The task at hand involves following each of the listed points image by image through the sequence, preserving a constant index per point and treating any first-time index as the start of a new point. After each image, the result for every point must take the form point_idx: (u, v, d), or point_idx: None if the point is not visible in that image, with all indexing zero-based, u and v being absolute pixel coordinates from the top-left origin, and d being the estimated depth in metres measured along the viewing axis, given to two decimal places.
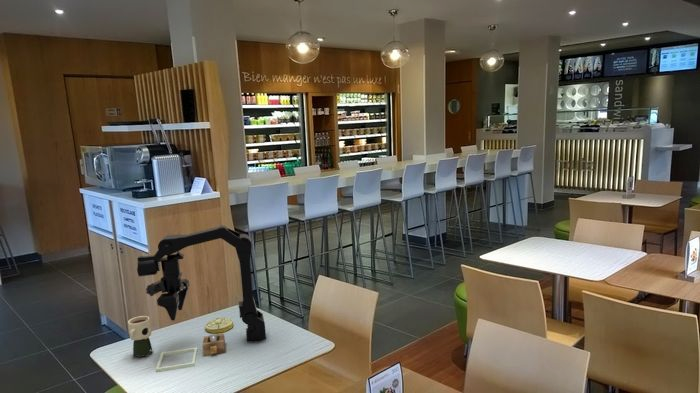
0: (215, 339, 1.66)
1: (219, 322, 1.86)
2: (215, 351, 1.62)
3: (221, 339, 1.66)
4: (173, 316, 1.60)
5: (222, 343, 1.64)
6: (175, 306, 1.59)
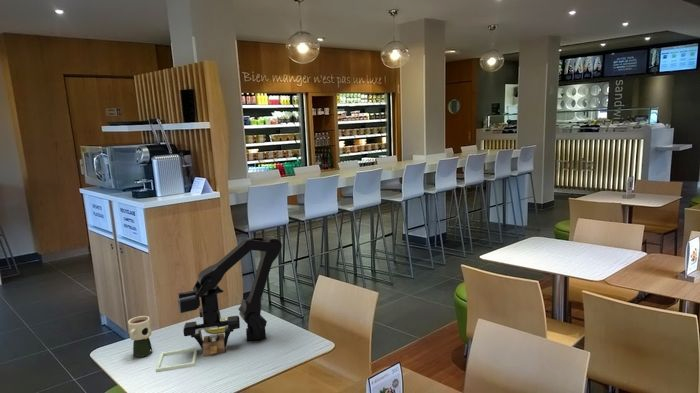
0: (215, 339, 1.66)
1: None
2: (215, 351, 1.62)
3: (221, 339, 1.66)
4: None
5: (222, 343, 1.64)
6: None
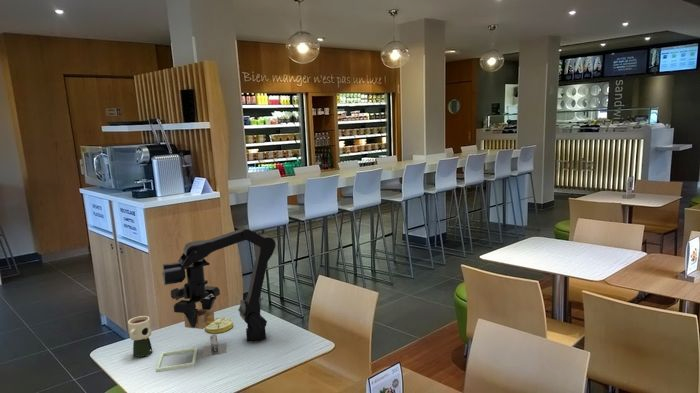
0: (215, 339, 1.66)
1: (219, 322, 1.86)
2: (213, 320, 1.62)
3: (207, 310, 1.65)
4: (192, 323, 1.59)
5: (212, 311, 1.65)
6: (193, 314, 1.57)
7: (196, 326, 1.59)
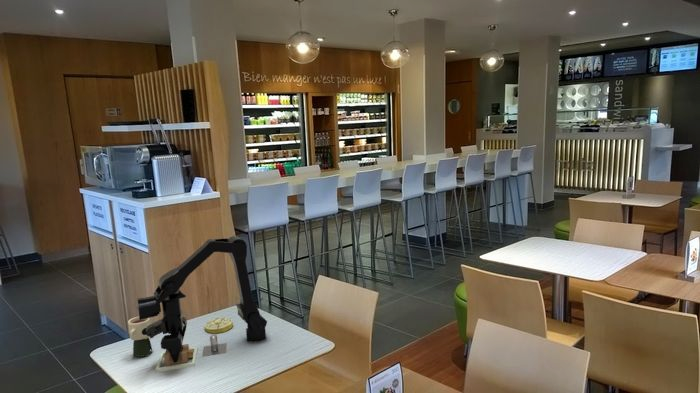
0: (215, 339, 1.66)
1: (219, 322, 1.86)
2: (192, 353, 1.62)
3: None
4: (176, 358, 1.55)
5: (188, 345, 1.64)
6: (179, 348, 1.54)
7: (179, 363, 1.57)
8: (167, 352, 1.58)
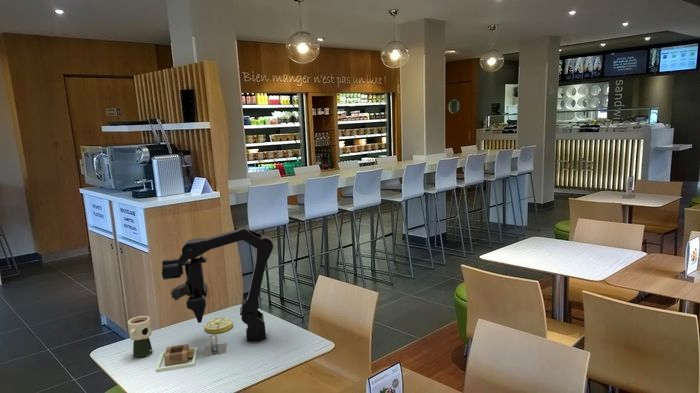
0: (215, 339, 1.66)
1: (219, 322, 1.86)
2: (192, 353, 1.62)
3: (181, 345, 1.63)
4: (200, 318, 1.63)
5: (188, 345, 1.64)
6: (203, 308, 1.62)
7: (179, 363, 1.57)
8: (167, 352, 1.58)
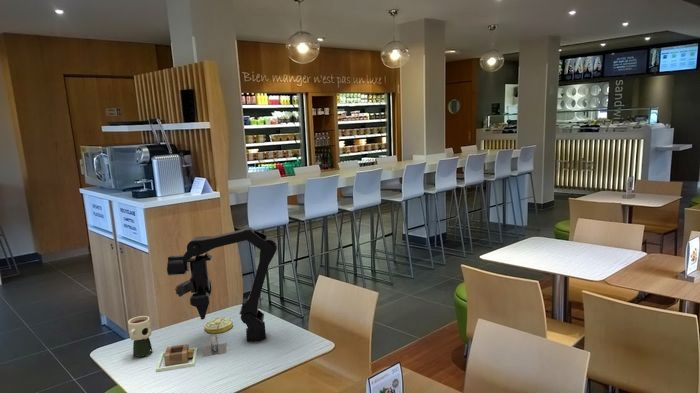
0: (215, 339, 1.66)
1: (218, 322, 1.86)
2: (192, 353, 1.62)
3: (181, 345, 1.63)
4: (203, 315, 1.65)
5: (188, 345, 1.64)
6: (206, 305, 1.64)
7: (179, 363, 1.57)
8: (167, 352, 1.58)
